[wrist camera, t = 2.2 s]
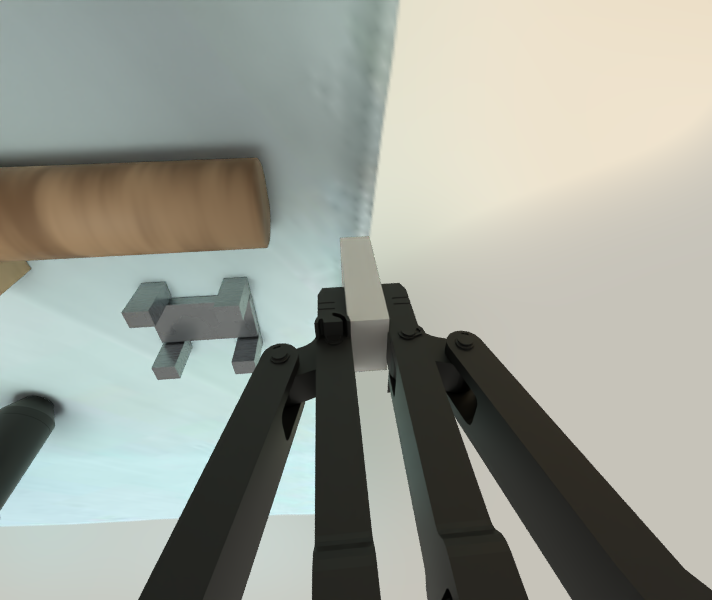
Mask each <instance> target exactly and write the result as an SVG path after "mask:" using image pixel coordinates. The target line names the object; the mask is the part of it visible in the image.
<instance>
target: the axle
mask: <svg viewBox="0 0 712 600" xmlns="http://www.w3.org/2000/svg"><path fill="white" fill-rule="evenodd" d="M269 241H270V207H269V200H268V194H267V188H266V182H265V176H264V172H263V169H262V166H261V163H260V161H259V159H258V158H233V159H207V160H181V161H155V162H128V163H102V164H76V165H50V166H24V167H0V262H11V261H30V260H48V259H67V258H86V257H105V256H123V255H142V254H161V253H180V252H198V251H217V250H236V249H255V248H267V247H268V245H269Z"/></svg>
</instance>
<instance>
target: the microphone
mask: <svg viewBox="0 0 712 600" xmlns="http://www.w3.org/2000/svg"><path fill="white" fill-rule="evenodd" d="M54 427H55V420H54V406H53V404H52V403H51V402H50V401H49V400H47V399H45V398H42V397H38V396H29V397H26V398H24V399H21V400H19V401H17V402H15V403H13V404H10V405H8V406H6V407H4V408H1V409H0V510H1V509H2V507H3V506H4V504H5V503H6V501H7V499H8V498H9V496H10V495H11V493H12V492H13V490H14V489H15V487H16V486H17V484H18V483H19V481H20V480H21V478H22V476H23V475H24V473H25V472H26V470H27V469H28V467H29V466H30V464H31V463H32V461H33V460H34V458H35V457H36V455H37V454H38V452H39V450H40V449H41V447H42V446H43V444H44V443H45V441H46V440H47V438H48V437H49V435H50V434H51V432H52V431H53V429H54Z"/></svg>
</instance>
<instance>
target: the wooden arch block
mask: <svg viewBox="0 0 712 600" xmlns="http://www.w3.org/2000/svg"><path fill="white" fill-rule="evenodd" d="M30 270H31V268H30V267H29V265H28V264H27V262H26V261H11V262H0V295H1V294H3V293H4V292H5V291H6V290H7V289H8V288H10V287H11V286H12V285H13V284H14V283H15V282H17V281H18V280H19V279H20V278H21V277H23V276H24V275H25V274H26V273H27V272H28V271H30Z"/></svg>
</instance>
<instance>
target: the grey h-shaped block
mask: <svg viewBox="0 0 712 600" xmlns="http://www.w3.org/2000/svg"><path fill="white" fill-rule="evenodd" d="M122 315H123V317H124V318H125V320H126V322H127V324H128V326H129V328H138V327H153V326H154V327H155V329H156V331H157V333H158V335H159V337H160V339H161V341H162V343H163V345H162V347H161V349H160V351H159V354H158V356H157V358H156V360H155V362H154V364H153V366H152V370H153V372H154V374H155V375H156V377H157V379H158V380H162V379H176V378H181V375H182V372H183V370H184V367H185V365H186V362H187V360H188V357H189V354H190V352H191V349H192V345H191V343H190V341H194V340H209V339H224V338H238V339H237V343H236V347H235V351H234V355H233V359H232V365H233V368H234V371H235V374H244V373H253V371H254V369H255V368H256V366H257V364H258V362H259V360H260V355H261V349H262V343H263V342H262V338H261V333H260V331H259V325H258V321H257V317H256V313H255V309H254V305H253V300H252V296H251V294H250V288H249V284H248V280H247V277H242V278H224V279H223V282H222V285H221V287H220V290H219V293H218V295H217V296H202V297H186V298H171V295H170V292H169V290H168V287H167V285H166V283H165V282H155V283H141V285H140V286H139V288H138V289H137V291H136V292H135V294H134V295H133V296H132V298H131V299H130V301H129V302H128V304H127V305H126V307H125V308H124V310H123V311H122Z"/></svg>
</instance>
